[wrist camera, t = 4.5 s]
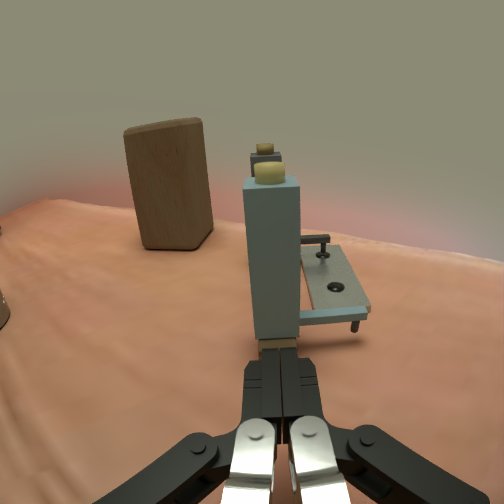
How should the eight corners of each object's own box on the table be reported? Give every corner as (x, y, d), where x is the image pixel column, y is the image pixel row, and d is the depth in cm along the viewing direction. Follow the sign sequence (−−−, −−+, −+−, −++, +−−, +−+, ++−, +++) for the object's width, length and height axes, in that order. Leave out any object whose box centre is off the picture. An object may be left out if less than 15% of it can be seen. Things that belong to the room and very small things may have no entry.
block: (196, 252, 45) (179, 118, 37) (141, 250, 47) (119, 129, 39) (215, 227, 54) (203, 116, 45) (166, 228, 56) (151, 124, 47)
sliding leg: (367, 342, 23) (390, 167, 17) (256, 351, 24) (240, 170, 18) (357, 317, 27) (372, 158, 20) (256, 324, 27) (243, 161, 21)
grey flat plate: (370, 311, 29) (371, 305, 29) (314, 316, 29) (315, 310, 29) (338, 249, 43) (339, 244, 42) (298, 251, 43) (298, 246, 42)
